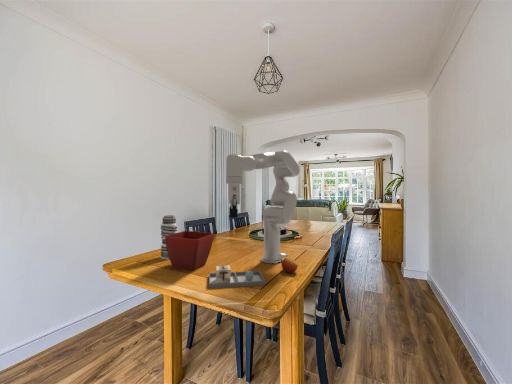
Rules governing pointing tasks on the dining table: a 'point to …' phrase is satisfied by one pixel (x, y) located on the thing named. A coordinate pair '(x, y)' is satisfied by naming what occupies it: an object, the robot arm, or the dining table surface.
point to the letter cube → (223, 274)
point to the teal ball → (249, 275)
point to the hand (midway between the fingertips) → (233, 216)
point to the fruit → (289, 265)
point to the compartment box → (237, 280)
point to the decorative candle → (167, 232)
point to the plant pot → (189, 249)
